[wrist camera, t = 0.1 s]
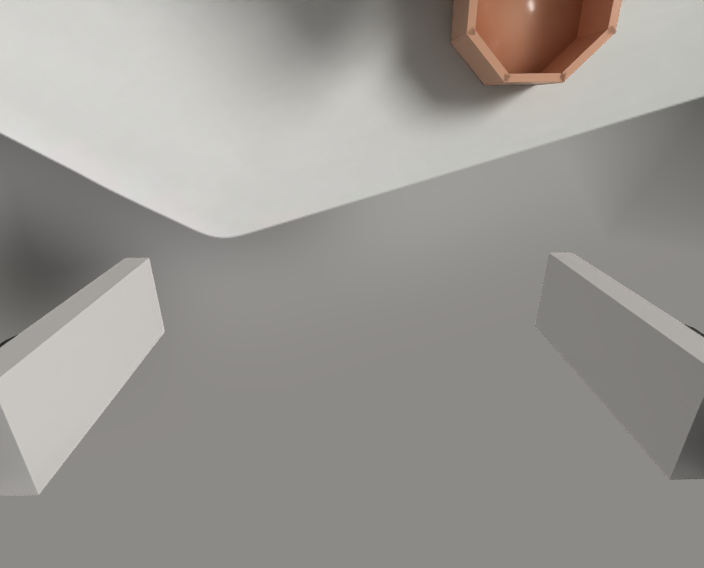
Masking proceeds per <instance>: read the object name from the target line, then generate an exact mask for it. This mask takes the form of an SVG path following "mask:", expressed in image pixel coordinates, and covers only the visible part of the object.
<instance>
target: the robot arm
mask: <svg viewBox="0 0 704 568" xmlns="http://www.w3.org/2000/svg"><path fill="white" fill-rule="evenodd" d="M535 327H536V328H537V329H538V330H539V331H540V332H541V333H542V335H543V336H544V337H545V338H546V339H547V340H548V341H549V342H550V344H551V345H552V346H553V347H554V348H555V349H556V350H557V352H558V353H559V354H560V355H561V356H562V357H563V359H564V360H565V361H566V362H567V363H568V364H569V365H570V367H571V368H572V369H573V370H574V371H575V372H576V373H577V375H578V376H579V377H580V378H581V379H582V380H583V381H584V383H585V384H586V385H587V386H588V387H589V388H590V389H591V390H592V392H593V393H594V394H595V395H596V396H597V397H598V398H599V400H600V401H601V402H602V403H603V404H604V405H605V406H606V408H607V409H608V410H609V411H610V412H611V413H612V414H613V416H614V417H615V418H616V419H617V420H618V421H619V422H620V424H621V425H622V426H623V427H624V428H625V429H626V430H627V431H628V433H629V434H630V435H631V436H632V437H633V438H634V440H636V442H637V443H638V444H639V445H640V446H641V448H642V449H643V450H644V451H645V452H646V453H647V454H648V455H649V457H650V458H651V459H652V460H653V461H654V462H655V464H656V465H657V466H658V467H659V468H660V469H661V470H662V471H663V473H664V474H665V475H666V476H667V477H668V478H669V479H670V480H675V479H704V334H702V333H700V332H699V331H698V330H696V329H694V328H692V327H690V326H687V325H685V324H683V323H681V322H679V321H678V320H676V319H674V318H673V317H671V316H670V315H668V314H667V313H665V312H663V311H662V310H660V309H659V308H657V307H656V306H654V305H653V304H651V303H649V302H648V301H646V300H645V299H643V298H642V297H640V296H639V295H637V294H636V293H634V292H632V291H631V290H629V289H628V288H626V287H624V286H623V285H621V284H620V283H618V282H617V281H615V280H614V279H612V278H610V277H609V276H607V275H606V274H604V273H603V272H601V271H600V270H598V269H597V268H595V267H593V266H592V265H590V264H589V263H587V262H586V261H584V260H583V259H581V258H579V257H578V256H576V255H575V254H573V253H549V257H548V262H547V267H546V272H545V277H544V282H543V288H542V292H541V298H540V303H539V308H538V313H537V318H536V323H535ZM164 332H165V331H164V326H163V322H162V317H161V312H160V307H159V302H158V298H157V293H156V288H155V283H154V278H153V275H152V269H151V264H150V260H149V258H125V259H123V260H122V261H121V262H119V263H118V264H117V265H115V266H114V267H112V268H111V269H109V270H108V271H107V272H105V273H104V274H102V275H101V276H100V277H98V278H97V279H95V280H94V281H93V282H91V283H90V284H88V285H87V286H86V287H84V288H83V289H81V290H80V291H79V292H77V293H76V294H75V295H73V296H72V297H70V298H69V299H67V300H66V301H65V302H63V303H62V304H60V305H59V306H58V307H56V308H55V309H53V310H52V311H51V312H49V313H48V314H47V315H45V316H44V317H42V318H41V319H39V320H38V321H37V322H35V323H34V324H32V325H31V326H30V327H28V328H27V329H25V330H24V331H23V332H21V333H20V334H18V335H16V336H14V337H12V338H10V339H8V340H5V341H4V342H2V343H1V344H0V495H1V496H10V495H39V494H40V492H41V491H42V490H43V489H44V487H45V486H46V485H47V484H48V482H49V481H50V479H51V478H52V477H53V476H54V474H55V473H56V472H57V470H58V469H59V468H60V467H61V465H62V464H63V463H64V461H65V460H66V459H67V458H68V456H69V455H70V454H71V452H72V451H73V450H74V448H75V447H76V446H77V444H78V443H79V442H80V441H81V440H82V438H83V437H84V436H85V434H86V433H87V432H88V430H89V429H90V428H91V427H92V425H93V424H94V423H95V421H96V420H97V419H98V418H99V416H100V415H101V414H102V412H103V411H104V410H105V408H106V407H107V406H108V404H109V403H110V402H111V401H112V399H113V398H114V397H115V395H116V394H117V393H118V392H119V390H120V389H121V388H122V386H123V385H124V384H125V383H126V381H127V380H128V379H129V377H130V376H131V375H132V374H133V372H134V371H135V370H136V368H137V367H138V366H139V364H140V363H141V362H142V361H143V359H144V358H145V357H146V355H147V354H148V353H149V352H150V350H151V349H152V347H153V346H154V345H155V344H156V343H157V341H158V340H159V339H160V337H161V336H162V334H163V333H164Z"/></svg>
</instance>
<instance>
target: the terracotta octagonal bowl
mask: <svg viewBox="0 0 704 568" xmlns="http://www.w3.org/2000/svg"><path fill="white" fill-rule="evenodd" d="M621 2H622V0H454V2H453V16H452V30H451V42H450V44H452V45H453V47H454V48H455V49H456V50H457V52H458V53H459V54H460V55H461V57H462V58H463V59H464V60H465V62H466V63H467V64H468V65H469V67H470V68H471V69H472V70H473V72H474V73H475V74H476V75H477V77H478V78H479V79H480V80H481V82H482V83H483V85H485V86H487V85H543V84H553V83H563V82H565V80H566V79H567V78H568V77H569V76H570V75H571V74H572V73H573V72H574V71H575V70H576V69H577V68H579V67H580V66H581V65H582V64H583V63H584V62H585V61H586V60H587V59H588V58H589V57H590V56H591V55H592V54H593V53H594V52H595V51H596V50H597V49H599V48H600V47H601V46H602V45H603V44H604V43H605V42H606V41H607V40H608V39H609V38H610V37H611V36H612V35H613V34H615V32H616V26H617V22H618V17H619V12H620V7H621Z"/></svg>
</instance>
